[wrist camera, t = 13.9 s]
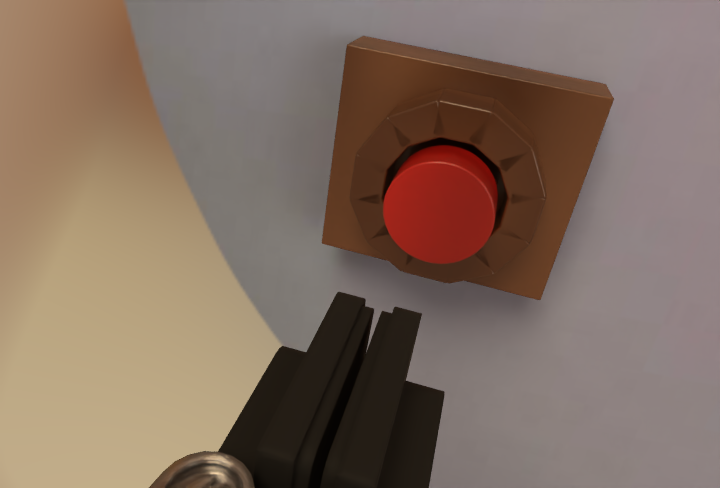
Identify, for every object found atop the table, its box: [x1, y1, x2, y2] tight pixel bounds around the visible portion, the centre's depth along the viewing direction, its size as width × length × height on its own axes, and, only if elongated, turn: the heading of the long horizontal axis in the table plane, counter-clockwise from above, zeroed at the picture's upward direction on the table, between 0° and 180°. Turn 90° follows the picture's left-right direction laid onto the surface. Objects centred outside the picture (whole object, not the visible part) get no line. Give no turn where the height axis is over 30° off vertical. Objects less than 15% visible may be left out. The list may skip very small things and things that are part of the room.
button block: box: [322, 36, 614, 300], centre depth 21 cm, size 9×8×4 cm
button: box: [383, 145, 498, 264], centre depth 19 cm, size 4×4×2 cm
